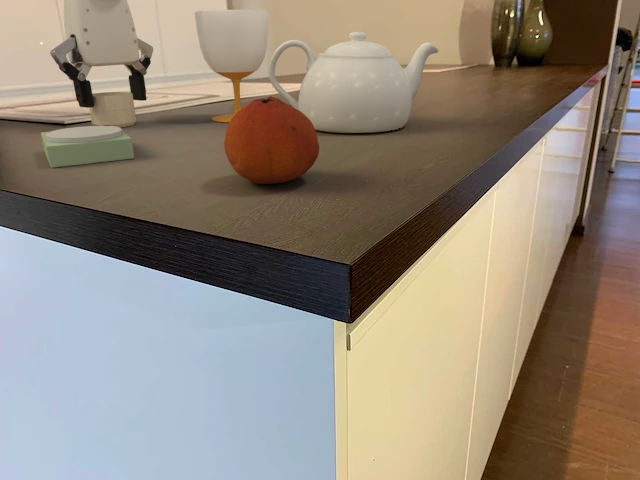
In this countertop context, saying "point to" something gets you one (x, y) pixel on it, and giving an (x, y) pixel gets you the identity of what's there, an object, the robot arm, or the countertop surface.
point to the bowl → (113, 109)
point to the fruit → (270, 142)
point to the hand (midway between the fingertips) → (114, 103)
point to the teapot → (355, 86)
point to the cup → (233, 45)
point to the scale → (86, 145)
